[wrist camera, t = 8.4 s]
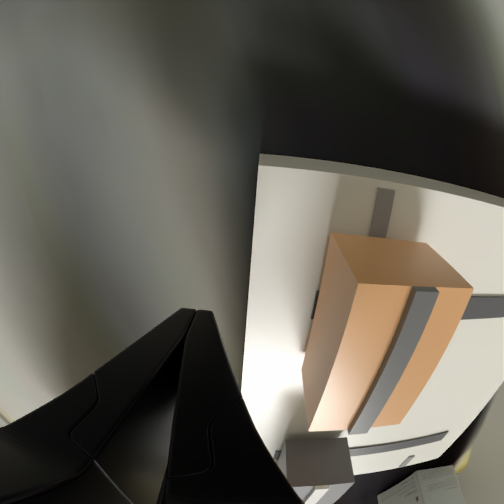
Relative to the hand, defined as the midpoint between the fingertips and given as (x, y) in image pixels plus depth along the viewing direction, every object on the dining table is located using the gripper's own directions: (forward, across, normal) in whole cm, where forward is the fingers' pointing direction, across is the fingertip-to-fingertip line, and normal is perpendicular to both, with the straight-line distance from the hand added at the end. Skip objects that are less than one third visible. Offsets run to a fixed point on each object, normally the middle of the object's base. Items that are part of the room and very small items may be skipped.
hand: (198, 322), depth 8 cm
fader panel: (+4, -9, +5) cm, 11 cm away
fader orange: (+1, -5, 0) cm, 5 cm away
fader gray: (+1, -5, +10) cm, 11 cm away
